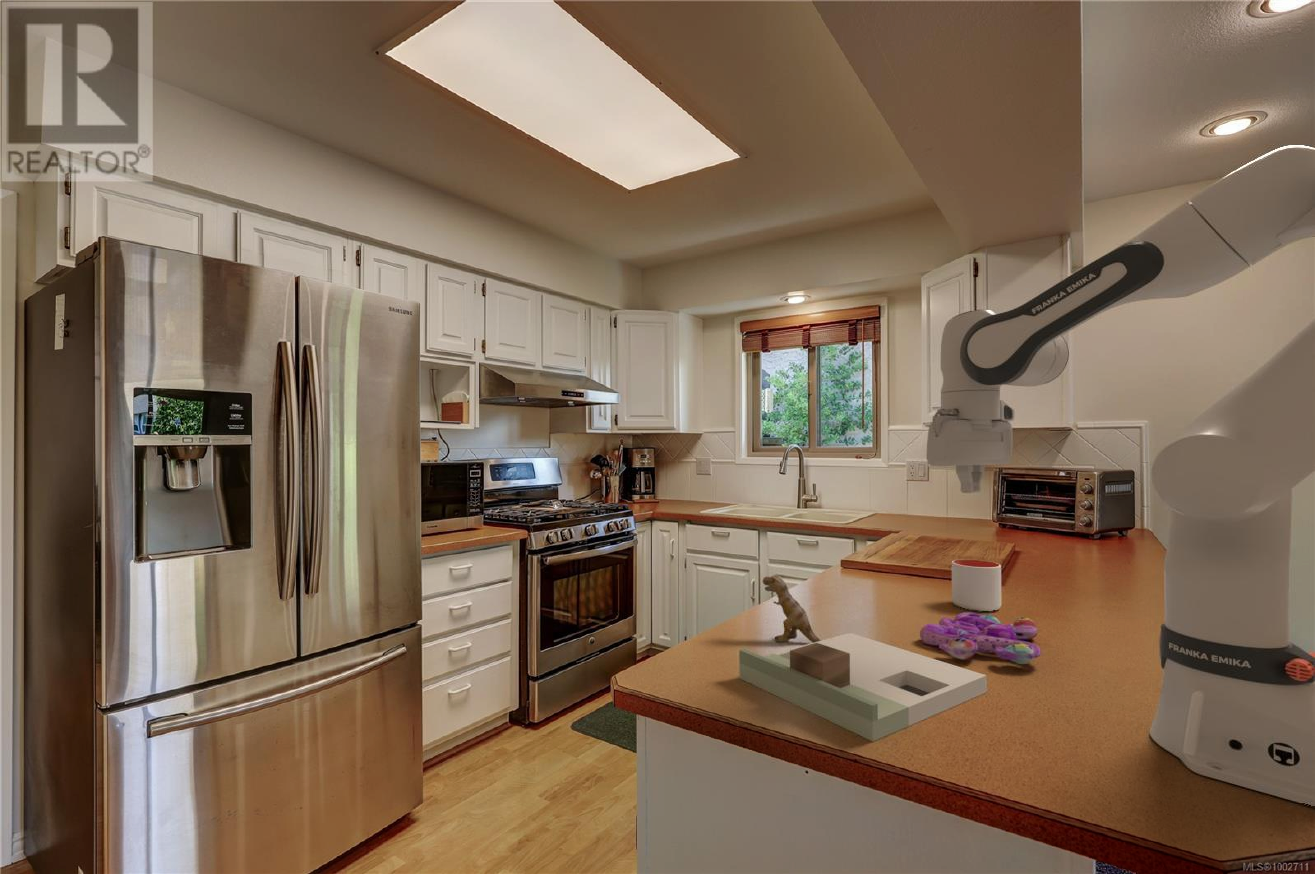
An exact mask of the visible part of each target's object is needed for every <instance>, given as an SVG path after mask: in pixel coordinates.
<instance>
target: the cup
mask: <svg viewBox="0 0 1315 874" xmlns="http://www.w3.org/2000/svg"><path fill="white" fill-rule="evenodd" d="M951 601H952V602H953V604H954V605H955V606H956V605H957V607H958V606H959V607H958V608H960V607H962V608H961V609H963V608H965V609H964V610H967V609H969V610H968V611H972V610H979V611H978V612H982V611H989V612H994V611H993V610H995V611H997V610H999V609H1000V608H1001V607H1002V565H1001V564H1000V563H997V562H993V561H990V560H989V561H988V560H981V559H965V558H963V559H954V560H952V561H951Z"/></svg>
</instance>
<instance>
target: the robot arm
mask: <svg viewBox="0 0 1315 874" xmlns="http://www.w3.org/2000/svg"><path fill="white" fill-rule="evenodd" d="M1309 238H1315V148H1314V147H1310V146H1305V145H1287V146H1283V147H1280V148H1277V149H1275V150H1272V151H1269V152H1268V153H1266V154H1264V155H1262V156H1259V157H1258V158H1256V159H1255V160H1252V161H1250V162H1248V163H1247V164H1244V165H1243V166H1241V167H1239V168H1238V169H1235V170H1234V171H1232V172H1231V173H1229V174H1227V175H1225V176H1224V177H1222V178H1219V180H1217V181H1215V182H1214V183H1212V184H1211V185H1209V186H1207V187H1205V188H1204V189H1203V190H1201V191H1200V192H1198V193H1197V194H1196V193H1195V195H1193V196H1192V197H1191V198H1189V200H1186V201H1185V202H1183V203H1182V204H1180V205H1179V206H1177V207H1176V208H1174V209H1172V211H1170V212H1169V213H1167V214H1166V215H1164V216H1163V217H1162V218H1160V219H1159V220H1157V221H1156V222H1153V224H1151V225H1150V226H1148V227H1146V228H1145V229H1144V230H1143V231H1141V232H1139V234H1136V235H1135V236H1134V237H1132V238H1131V239H1128V240H1127V241H1126V242H1124V243H1122V244H1120V245H1119V246H1117V247H1116V248H1114V249H1112V250H1111V251H1109V252H1108V253H1106V254H1104V255H1103V256H1100V257H1099V258H1097V259H1095V260H1093V261H1092V262H1090V263H1089V264H1087V265H1085V266H1084V267H1082V268H1080V269H1079V270H1077V271H1075V272H1074V273H1072V274H1071V275H1069V276H1067V277H1066V278H1064V279H1062V280H1061V281H1059V282H1057V283H1056V284H1054V285H1052V286H1051V287H1050V288H1048V289H1046V290H1045V291H1043V292H1041V293H1039V294H1038V295H1037V296H1035V297H1034V298H1032V299H1030V300H1028V301H1027V302H1025V303H1024V304H1022V305H1020V306H1017V307H1015V308H1013V309H1011V310H1007V311H1004V312H1001V313H995V312H994V311H992V310H991V309H990V310H989V309H977V310H969V311H965V312H961V313H959V314H957V315H955V316H952V317H951V318H950V319H949V320H948V321H947V322H946V323H945V325H944V327H943V332H942V334H941V342H940V343H941V344H940V371H941V374H942V378H943V379H942V386H941V389H940V408H939V409H937V411H936V412H935V413H934V415H933V416H932V420H931V422H930V424H929V427H928V432H927V441H926V455H925V456H926V460H927V463H928V465H929V466H931V467H955V473H956V475H957V477H958V481H959V482H960V492H961V494H962V493H963V494H976V493H981V489H982V488H981V484H982V483H981V482H982V480H983V477H984V475H985V473H986V471H985V470H986V469H985V468H986V467H985V466H989V465H1008V464H1009V463H1010V462H1011V459H1012V458H1013V457H1012V456H1013V455H1012V454H1013V440H1014V439H1013V435H1014V433H1013V426H1012V424H1011V422H1013V421H1014V420H1015V410H1014V408H1013V407H1012V406H1010V405H1009V404H1007V403H1006V402H1005V401H1004V400H1003V398H1001V392H1000V391H1001V388H1002V387H1001V386H1002V385H1003V386H1004V385H1006V386H1016V387H1038V386H1041V385H1046V384H1048V383H1050V382H1053V381H1055V379H1057V378H1058V377H1060V376H1061V374H1062V373H1063V372H1064V370H1065V368H1066V366H1067V365H1068V361H1069V357H1070V356H1069V355H1070V352H1069V346H1068V345H1069V344H1068V343H1067V341H1066V339H1065V338H1064V337H1063V336H1064V335H1065V334H1068V333H1069V332H1071V331H1072V330H1074V329H1075V328H1077V327H1078V328H1079V327H1080V326H1081V325H1083V324H1084V323H1086V322H1088V321H1090V320H1092V319H1093V318H1095V317H1097V316H1098V315H1101V314H1103V313H1104V312H1106V311H1109V310H1111V309H1113V308H1117V307H1119V306H1122V305H1125V304H1129V303H1135V302H1140V301H1141V302H1142V301H1148V300H1159V299H1177V298H1185V297H1190V296H1192V295H1194V294H1198V293H1200V292H1202V291H1204V290H1208V289H1210V288H1212V287H1214V286H1217V285H1219V284H1221V283H1223V282H1224V281H1228V280H1229V279H1232V278H1233V277H1235V276H1237V275H1239V274H1240V273H1242V272H1244V271H1245V270H1247V269H1248V268H1251V266H1253V265H1255V264H1257V263H1258V262H1260V261H1262V260H1263V259H1266V258H1267V257H1269V256H1270V255H1272V254H1274V253H1275V252H1277V251H1279V250H1281V249H1284V248H1285V247H1286V246H1289V245H1291V244H1293V243H1295V242H1299V241H1301V240H1304V239H1309ZM1314 472H1315V318H1314V319H1313V320H1312V321H1310V322H1309V323H1308V324H1307V325H1306V326H1305V327H1304V328H1303V329H1302V330H1300V331H1299V332H1298V333H1297V334H1296V335H1295V336H1294V337H1293V338H1292V339H1290V341H1289V342H1287V343H1286V344H1285V345H1284V346H1283V347H1281V349H1279V350H1278V352H1276V353H1275V354H1274V355H1272V357H1271V358H1270V359H1268V361H1266V362H1265V363H1264V364H1263V365H1262V366H1261V367H1259V368H1258V369H1257V370H1256V371H1255V372H1254V373H1252V374H1251V375H1249V377H1247V378H1246V379H1245V380H1243V381H1242V382H1240V383H1239V384H1238V385H1237V386H1236V387H1234V388H1233V389H1232V390H1230V391H1229V392H1228V393H1227V394H1225V395H1223V396H1222V397H1221V398H1220V399H1219V400H1218V401H1217V402H1215V403H1214V404H1213V405H1211V406H1210V407H1209V408H1207V409H1206V410H1205V411H1203V413H1201V414H1200V415H1199V416H1198V417H1196V418H1195V419H1194V420H1193V421H1192V422H1190V423H1189V424H1188V425H1187V426H1186V427H1185V428H1183V429H1182V430H1181V431H1180V432H1178V433H1177V434H1176V435H1175V436H1174V437H1172V439H1170V440H1169V441H1168V442H1167V443H1166V444H1165V445H1163V447H1162V448H1161V449H1160V450H1159V451H1158V453H1157V454H1156V456H1155V458H1154V460H1153V462H1152V466H1151V473H1150V474H1151V482H1152V485H1153V488H1154V491H1155V492H1156V494H1157V496H1158V497H1159V499H1160V500H1161V501H1162V502H1163V503H1164V504H1165V505H1167V507H1169V508H1170V509H1171V516H1170V526H1169V533H1168V540H1167V547H1166V553H1165V557H1164V562H1163V582H1164V583H1163V585H1164V586H1163V588H1164V589H1163V590H1164V591H1163V592H1164V593H1163V594H1164V595H1163V596H1164V623H1162V624H1161V625H1160V632H1159V640H1158V641H1159V646H1158V647H1159V648H1158V649H1159V658H1160V666H1161V668H1162V670H1163V672H1162V673H1163V674H1162V682H1161V688H1160V695H1159V698H1158V699H1159V700H1158V705H1157V710H1156V712H1155V716H1154V719H1153V722H1152V724H1151V726H1150V729H1149V735H1150V737H1151V739H1152V740H1153V741H1154V742H1155V743H1156V744H1157V745H1159V746H1160V747H1162V749H1165V750H1166V751H1167V752H1169V753H1171V754H1172V755H1174V756H1176V757H1177V758H1179V759H1180V760H1181V762H1182V763H1183V764H1184V765H1185V766H1186V767H1187V768H1188V769H1189V770H1191V771H1192V772H1194V773H1196V774H1198V775H1201V776H1203V777H1204V776H1205V777H1208V778H1211V779H1215V780H1219V781H1222V782H1225V783H1229V784H1233V785H1237V786H1240V787H1243V788H1246V789H1250V790H1252V791H1253V790H1254V791H1258V792H1261V793H1264V794H1267V795H1272V796H1275V797H1278V798H1282V799H1285V800H1289V801H1292V802H1295V803H1299V804H1302V803H1306V804H1309V805H1311V806H1310V807H1313V806H1315V651H1310V652H1309V653H1308V652H1307V651H1305V650H1304V649H1302V648H1301V647H1299V646H1298V645H1296V644H1294V643H1293V642H1291V637H1290V636H1291V635H1290V634H1291V633H1290V628H1291V627H1290V582H1289V581H1290V554H1291V532H1292V529H1291V528H1292V500H1293V499H1292V498H1293V497H1292V495H1293V494H1292V493H1293V488H1295V487H1296V486H1297V485H1298V484H1300V483H1301V482H1302V481H1304V480H1305V479H1306V478H1308V477H1309V476H1311V474H1313V473H1314ZM1306 804H1305V805H1306ZM1309 805H1308V806H1309ZM1312 805H1313V806H1312Z"/></svg>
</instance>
